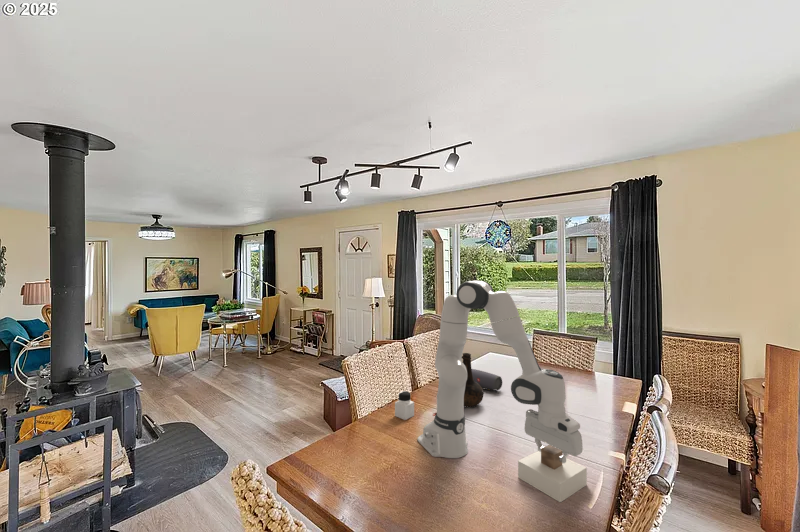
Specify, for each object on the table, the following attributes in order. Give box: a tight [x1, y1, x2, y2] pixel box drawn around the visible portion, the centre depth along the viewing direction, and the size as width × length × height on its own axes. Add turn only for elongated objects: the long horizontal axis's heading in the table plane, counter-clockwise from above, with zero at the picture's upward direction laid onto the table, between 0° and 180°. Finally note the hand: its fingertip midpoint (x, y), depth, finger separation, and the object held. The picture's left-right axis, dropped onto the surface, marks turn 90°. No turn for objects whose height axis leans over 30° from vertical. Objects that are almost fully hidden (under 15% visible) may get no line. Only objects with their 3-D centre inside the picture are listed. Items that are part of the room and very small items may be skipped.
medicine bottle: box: [394, 390, 415, 421], centre depth 176 cm, size 7×7×12 cm
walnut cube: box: [541, 444, 563, 470], centre depth 122 cm, size 5×5×5 cm
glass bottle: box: [462, 352, 485, 408], centre depth 191 cm, size 18×18×28 cm
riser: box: [517, 450, 588, 503], centre depth 122 cm, size 16×16×6 cm
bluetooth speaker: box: [471, 368, 503, 391], centre depth 218 cm, size 23×9×10 cm, turn 42°
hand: (551, 456), depth 122 cm, fingers open, 7 cm apart
